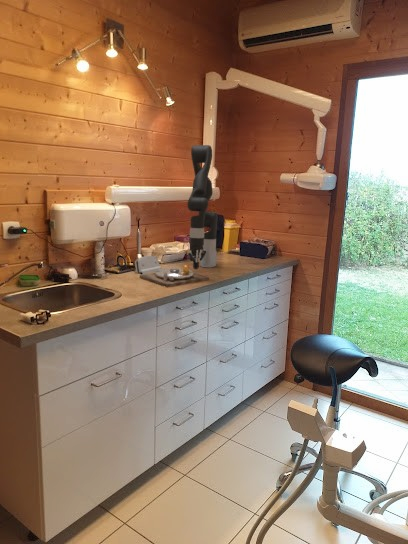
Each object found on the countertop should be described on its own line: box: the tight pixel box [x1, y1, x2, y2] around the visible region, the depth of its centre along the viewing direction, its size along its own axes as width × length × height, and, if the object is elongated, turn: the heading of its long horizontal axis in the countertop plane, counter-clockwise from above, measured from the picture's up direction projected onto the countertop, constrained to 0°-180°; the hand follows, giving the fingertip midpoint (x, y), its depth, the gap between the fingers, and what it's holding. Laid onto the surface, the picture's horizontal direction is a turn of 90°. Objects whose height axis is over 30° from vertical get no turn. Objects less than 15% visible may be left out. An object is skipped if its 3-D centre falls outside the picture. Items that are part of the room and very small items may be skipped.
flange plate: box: [155, 264, 194, 280], centre depth 222 cm, size 20×22×6 cm
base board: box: [139, 272, 210, 288], centre depth 224 cm, size 28×24×6 cm
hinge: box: [134, 255, 163, 275], centre depth 240 cm, size 17×5×10 cm, turn 144°
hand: (195, 268), depth 223 cm, fingers closed
